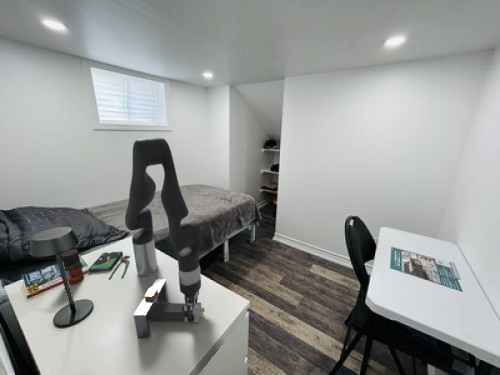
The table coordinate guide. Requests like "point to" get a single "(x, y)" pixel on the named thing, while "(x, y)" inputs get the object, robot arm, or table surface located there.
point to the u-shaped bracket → (149, 307)
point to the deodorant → (72, 266)
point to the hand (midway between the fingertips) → (192, 314)
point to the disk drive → (105, 262)
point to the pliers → (120, 264)
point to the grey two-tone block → (173, 312)
